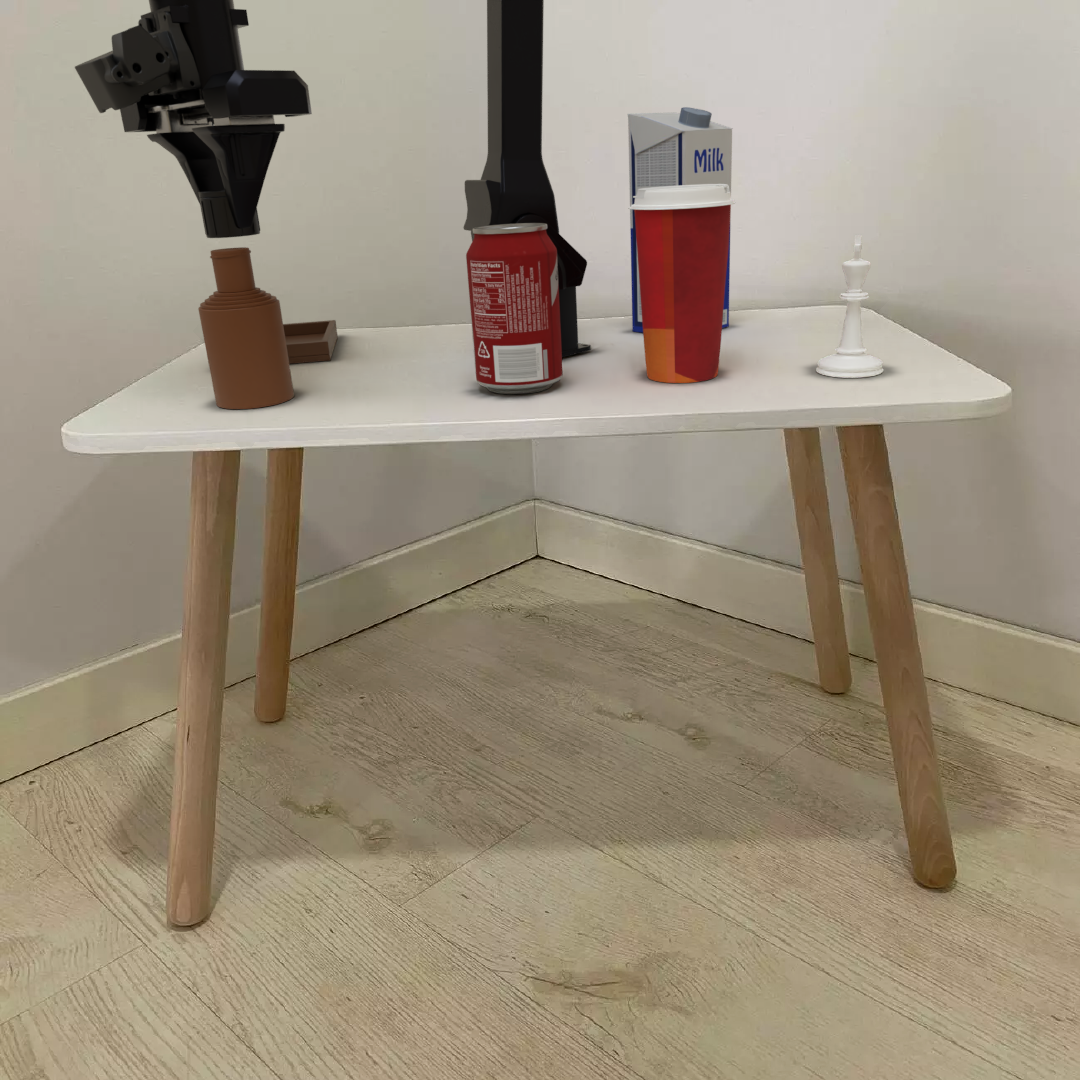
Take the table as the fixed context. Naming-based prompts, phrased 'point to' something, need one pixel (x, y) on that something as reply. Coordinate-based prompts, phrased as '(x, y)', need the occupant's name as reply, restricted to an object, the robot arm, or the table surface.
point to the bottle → (244, 337)
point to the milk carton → (675, 169)
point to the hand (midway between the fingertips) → (230, 227)
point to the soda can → (515, 308)
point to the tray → (310, 341)
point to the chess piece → (852, 327)
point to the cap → (222, 217)
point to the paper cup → (682, 278)
